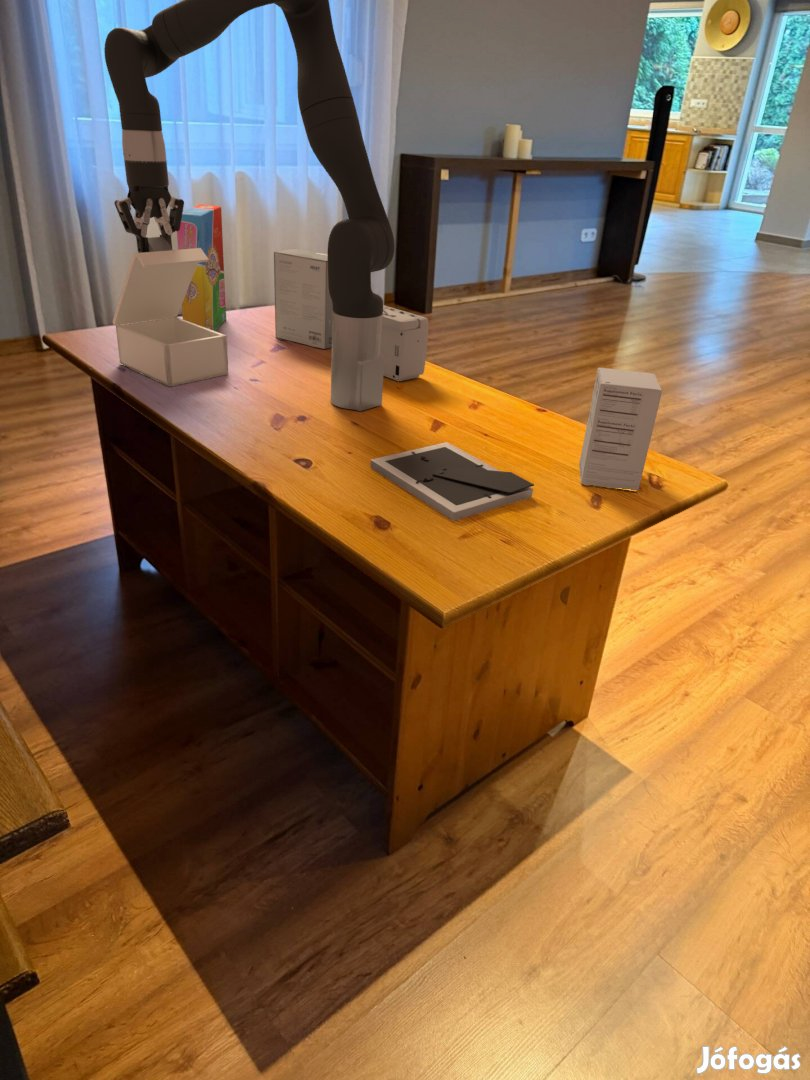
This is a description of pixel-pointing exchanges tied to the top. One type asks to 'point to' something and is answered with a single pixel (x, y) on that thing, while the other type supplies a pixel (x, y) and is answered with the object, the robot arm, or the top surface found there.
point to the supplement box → (619, 428)
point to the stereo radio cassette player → (403, 344)
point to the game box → (204, 266)
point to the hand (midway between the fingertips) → (156, 255)
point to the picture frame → (452, 480)
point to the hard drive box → (302, 298)
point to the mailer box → (172, 350)
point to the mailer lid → (156, 282)
